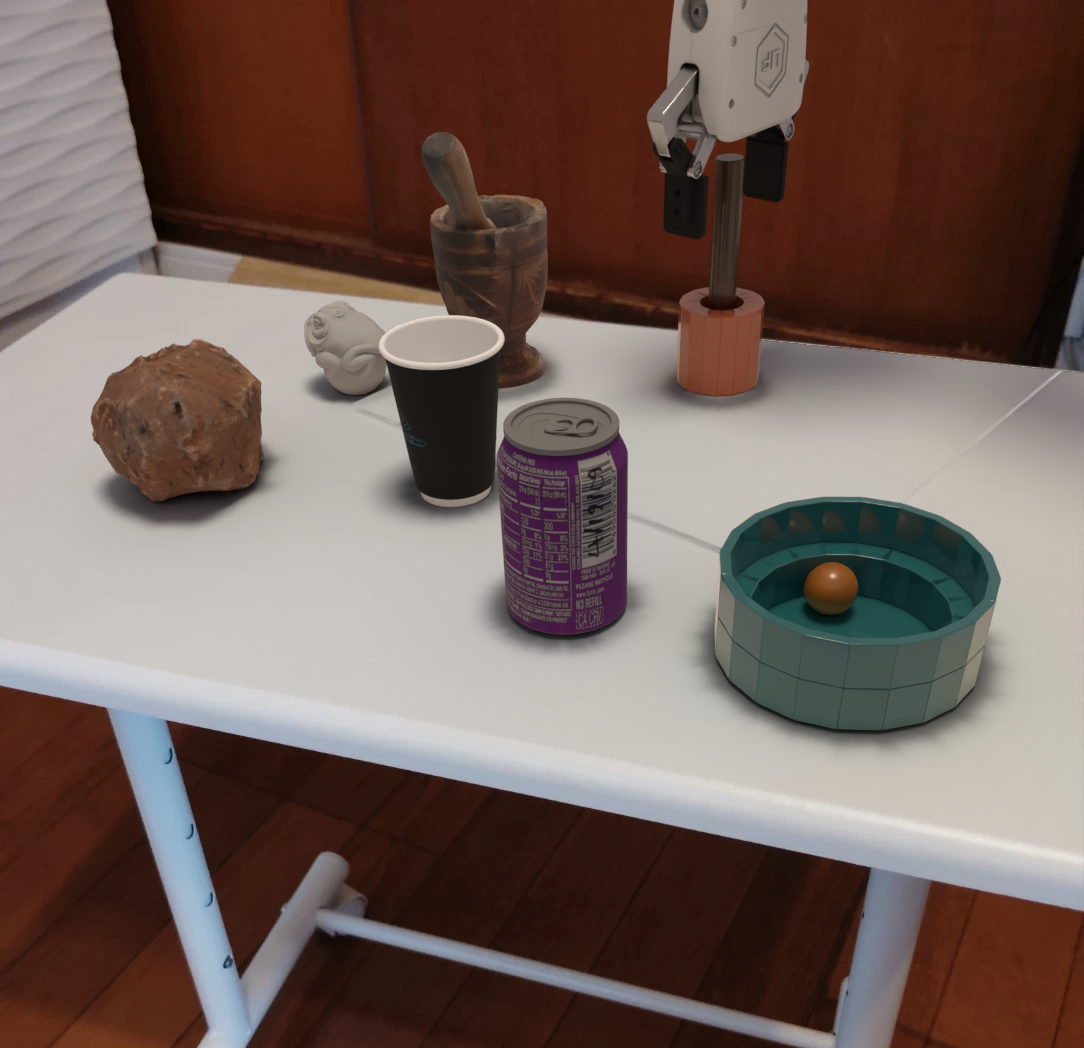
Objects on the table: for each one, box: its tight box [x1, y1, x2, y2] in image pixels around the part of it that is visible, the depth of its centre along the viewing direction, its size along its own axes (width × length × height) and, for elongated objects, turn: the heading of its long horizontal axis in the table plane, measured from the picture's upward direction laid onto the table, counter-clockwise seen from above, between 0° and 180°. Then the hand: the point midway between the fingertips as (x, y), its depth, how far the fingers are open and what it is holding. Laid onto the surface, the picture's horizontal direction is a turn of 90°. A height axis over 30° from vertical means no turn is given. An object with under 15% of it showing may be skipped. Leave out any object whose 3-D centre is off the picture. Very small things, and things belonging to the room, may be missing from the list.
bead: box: [804, 562, 858, 615], centre depth 67 cm, size 3×3×3 cm
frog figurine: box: [303, 300, 388, 396], centre depth 93 cm, size 6×7×7 cm
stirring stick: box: [708, 153, 745, 310], centre depth 87 cm, size 2×2×16 cm
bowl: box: [713, 496, 1002, 731], centre depth 64 cm, size 14×14×6 cm
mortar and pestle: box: [421, 131, 549, 390], centre depth 88 cm, size 12×9×20 cm
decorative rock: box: [90, 338, 265, 502], centre depth 81 cm, size 13×11×10 cm
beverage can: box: [496, 397, 629, 635], centre depth 66 cm, size 7×7×12 cm
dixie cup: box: [379, 314, 505, 508], centre depth 78 cm, size 8×8×11 cm
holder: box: [676, 286, 766, 397], centre depth 90 cm, size 6×6×7 cm
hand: (724, 216), depth 84 cm, fingers open, 9 cm apart
